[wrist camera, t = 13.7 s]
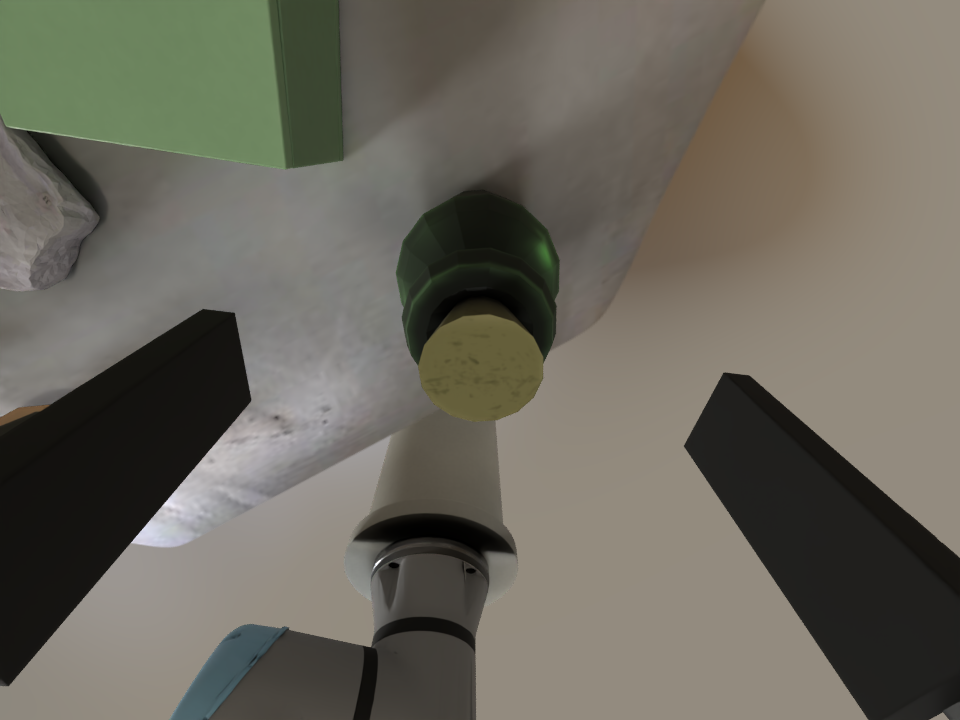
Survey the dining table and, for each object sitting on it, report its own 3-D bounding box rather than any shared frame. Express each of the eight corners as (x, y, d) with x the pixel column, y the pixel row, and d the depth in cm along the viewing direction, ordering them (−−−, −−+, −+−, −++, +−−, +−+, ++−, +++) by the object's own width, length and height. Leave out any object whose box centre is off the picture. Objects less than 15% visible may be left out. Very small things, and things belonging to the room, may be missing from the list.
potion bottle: (544, 184, 26) (656, 254, 10) (523, 299, 30) (578, 477, 14) (422, 168, 25) (336, 214, 9) (417, 287, 29) (350, 459, 13)
